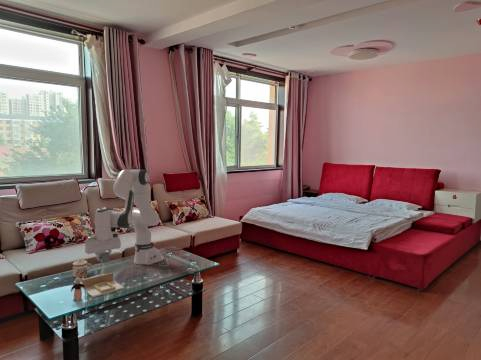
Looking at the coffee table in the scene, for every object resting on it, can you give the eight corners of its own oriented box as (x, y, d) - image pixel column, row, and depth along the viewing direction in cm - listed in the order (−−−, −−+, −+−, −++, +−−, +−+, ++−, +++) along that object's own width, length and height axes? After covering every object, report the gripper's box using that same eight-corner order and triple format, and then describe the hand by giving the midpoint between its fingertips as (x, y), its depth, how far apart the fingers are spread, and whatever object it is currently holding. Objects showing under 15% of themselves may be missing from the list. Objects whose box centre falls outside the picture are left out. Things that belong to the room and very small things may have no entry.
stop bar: (109, 261, 203) (109, 253, 203) (102, 263, 200) (102, 254, 200) (103, 258, 209) (103, 250, 208) (97, 259, 206) (97, 251, 205)
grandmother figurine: (71, 302, 188) (71, 280, 187) (70, 300, 191) (69, 277, 190) (86, 299, 193) (86, 277, 191) (85, 296, 196) (84, 275, 195)
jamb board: (103, 275, 229) (103, 266, 228) (124, 288, 208) (124, 279, 207) (73, 282, 215) (73, 273, 215) (92, 297, 195) (92, 287, 194)
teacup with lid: (75, 279, 220) (75, 262, 219) (70, 275, 226) (70, 258, 225) (94, 275, 228) (94, 258, 227) (89, 271, 235) (89, 255, 234)
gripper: (87, 239, 194) (87, 263, 195) (121, 233, 208) (122, 256, 209) (82, 237, 198) (83, 260, 199) (117, 231, 212) (117, 253, 214)
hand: (103, 258), depth 204 cm, fingers closed on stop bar, 4 cm apart
